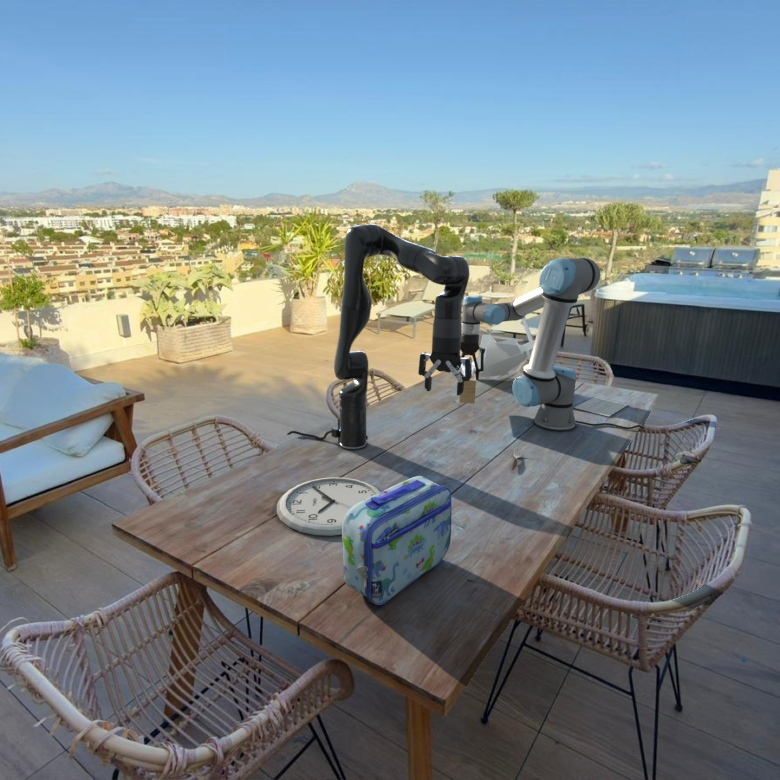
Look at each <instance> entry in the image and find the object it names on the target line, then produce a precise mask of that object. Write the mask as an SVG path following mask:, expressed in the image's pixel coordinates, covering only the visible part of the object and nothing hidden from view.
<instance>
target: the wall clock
mask: <svg viewBox="0 0 780 780" xmlns="http://www.w3.org/2000/svg"><path fill="white" fill-rule="evenodd" d="M380 492H382V491H381V490H380V489H379V488H377V487H376V486H374V485H372V484H371V483H369V482H365V481H362V480H359V479H355V478H349V477H338V476H337V477H335V476H333V477H332V476H331V477H322V478H317V479H312V480H307V481H305V482H302V483H299V484H297V485H295V486H293V487H292V488H290V489H288V490H287V491H286V492H285V493H284V494H283V495H281V496H280V498H279V499H278V502H277V503H276V515H277V517H278V518H279V520H280V521H281V522H282V523H283V524H285V525H286V526H287V527H288V528H290V529H293V530H295V531H297V532H299V533H303V534H308V535H312V536H327V537H328V536H329V537H331V536H332V537H333V536H342V525H343V521H344V518H345V516H346V514H347V512H348V511H349V510H350V509H351V508H352V507H353V506H354V505H356V504H358V503H360V502H362V501H364V500H366V499H368V498H370V497H372V496H374V495H376V494H378V493H380Z"/></svg>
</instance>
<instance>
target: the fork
mask: <svg viewBox="0 0 780 780" xmlns="http://www.w3.org/2000/svg"><path fill="white" fill-rule="evenodd" d="M522 455H523V450H521V449H519V448H517V447H515V448H514V452H513V457H514V460H513V462H512V471H514V470H515V468H516V466H517V464H518V459H519V458H522Z"/></svg>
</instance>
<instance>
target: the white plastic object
mask: <svg viewBox="0 0 780 780" xmlns="http://www.w3.org/2000/svg"><path fill="white" fill-rule="evenodd" d="M521 322H522V324H523V328H524V331H525V334H526V338H527V339H528V342H526V343H523V344H519V342H518V341H517V338H510V339H506V340H505V339H504V340H500V341H497V340H496V339H495V338H494V337H493V336H492V334H482V335H481V339H480V344H479V347H482V348H485V352H484V370H483V371H481V372H479V379H481V378H489V377H497V376H498V377H500V378H501V377H504V376H507V375H509V372H510V371H512V370H513V369H515V367H517V366H519V365H520V364H521V363H523V362H524V361H526V360H527V359H528V363H529V362H530V358H531V354H532V350H533V346H534V343H535V339H533V335H532V334H531V330H530V326H529V323H528V320H527V318H526V316H525V317H524V318H523V319H521ZM476 360H477V364H478V368H480V366H481V353H480V350H479V349H478V353H477V357H476ZM472 364H473V365H475V364H474V361H472ZM475 371H476V368H475Z"/></svg>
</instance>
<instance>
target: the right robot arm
mask: <svg viewBox="0 0 780 780" xmlns="http://www.w3.org/2000/svg"><path fill="white" fill-rule="evenodd" d="M600 280H601V269H600V267H599V264H598V263H597V262H595V261H594V260H592V259H591V258H587V257H573V258H572V257H570V258H569V257H568V258H567V257H561V258H556V259H552V260H550V261H549V262H547V263H546V264H545V265H544V266H543V268H542V269H541V271H540V274H539V278H538V283H539V285H540V286H539V287H537V288H536V289H534V290H532V291H529V292H528V293H527V292H526V294H523V295H521V296H519V297H517V298H515V299H513V300H511V301H508V302H500V303H498V302H497V303H485V302H483V298H482V297H481V296H479V295H466V296H465V295H464V297H463V300H462V311H461V325H462V328H461V330H462V334H461V345H460V352H461V354H460V356H461V358H466V356H470V357H471V356H472V361H473V362H474V364H475V368H476V371H475V374H476V381H478V380H479V379H480V378H479V372H481V371H483V370H484V352H485V348H482V347H480V344H479V343H480V342H479V341H480V328H481V323H485V324H487V325H494V326H498V325H500V324H501V323H504V322H515V321H516V322H517V321H520V320H522V319H523V318H524V317H525V318H526V316H527V315H529V314H532V313H534V312H536V311H539V310H540V309H542V312H541V316H540V320H539V323H538V327H537V331H536V336H535V339H534V340H535V343H534V346H533V350H532V354H531V358H530V362H529V361H528V363H527V364H525V365H523V368H522V372H521V375H519V376H517V377H516V378H515V379H514V380H513V382H512V386H511V387H512V388H511V389H512V394H513V396H514V399H515V400H516V402H517V403H518V404H520V405H521V406H523V407H527V408H530V407H531V408H532V407H537V406H539V407H538V410H537V411H536V413H535V417H534V424H535V425H536V426H537V427H539V428H542V429H544V430H549V431H556V432H567V431H572V430H574V429H575V428H576V423H577V424H582V425H585V426H592V427H596V426H597V427H598V426H612V427H615V428H619V429H624V430H633V429H635V428H640V429H641V430H642V429H643V430H645V427H644V426H642V425H640V424H636V425H633V426H622V425H618V424H616V423H610V422H602V423H589V422H585V421H579V420H576V418H575V417H576V416H575V413H574V407H573V405H574V398H575V390H576V383H577V372H576V371H575V369H572V368H571V367H570V368H569V367H566V366H561V365H555V363H556V359H557V357H558V353H559V350H560V345H561V342H562V338H563V335H564V331H565V328H566V324H567V321H568V319H569V318H568V317H569V314H570V311H571V307H573V305H575V304H577V302H578V299H579V296H580V295H582V294H585V293H588V292H590V291H592V290H593V289H595V288H596V287H597V286H598V284H599V283H600ZM479 350H480V353H481V366H480V368H478V364H477V355H476V354H477V352H479ZM461 364H463V363H462V362H460V363H459V365H458V366H459V368H460V369H461Z"/></svg>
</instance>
